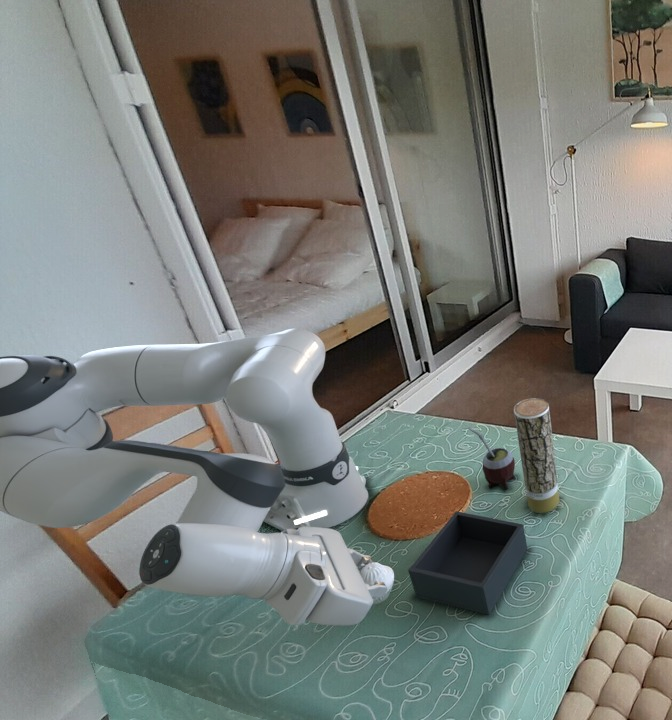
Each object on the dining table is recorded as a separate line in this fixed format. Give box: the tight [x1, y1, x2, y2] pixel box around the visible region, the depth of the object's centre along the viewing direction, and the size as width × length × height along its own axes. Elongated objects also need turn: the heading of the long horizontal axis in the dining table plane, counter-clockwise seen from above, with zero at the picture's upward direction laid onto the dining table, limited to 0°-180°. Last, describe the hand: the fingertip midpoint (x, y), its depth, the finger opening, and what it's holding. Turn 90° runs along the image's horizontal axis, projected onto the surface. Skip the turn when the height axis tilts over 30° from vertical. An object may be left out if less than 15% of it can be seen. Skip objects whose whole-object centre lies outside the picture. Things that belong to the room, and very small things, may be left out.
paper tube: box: [513, 397, 560, 514], centre depth 104 cm, size 7×7×25 cm
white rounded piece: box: [359, 561, 395, 605], centre depth 84 cm, size 6×6×7 cm
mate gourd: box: [467, 426, 516, 491], centre depth 113 cm, size 8×8×15 cm
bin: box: [407, 510, 528, 616], centre depth 92 cm, size 15×15×7 cm
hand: (376, 576), depth 84 cm, fingers closed on white rounded piece, 6 cm apart
